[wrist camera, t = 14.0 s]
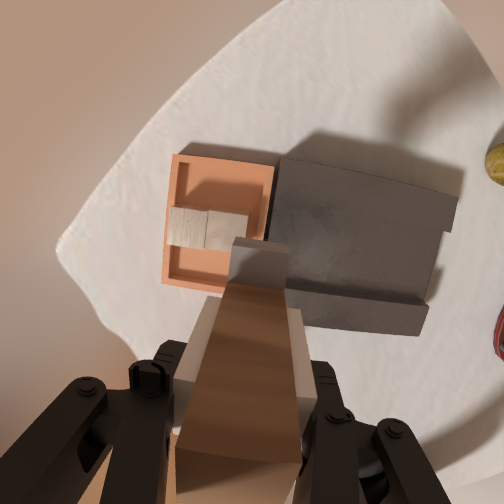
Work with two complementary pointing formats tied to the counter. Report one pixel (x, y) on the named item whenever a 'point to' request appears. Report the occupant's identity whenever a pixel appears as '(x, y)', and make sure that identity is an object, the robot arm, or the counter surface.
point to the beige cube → (188, 225)
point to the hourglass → (499, 336)
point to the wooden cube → (225, 227)
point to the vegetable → (496, 164)
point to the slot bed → (357, 246)
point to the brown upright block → (244, 391)
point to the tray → (213, 193)
